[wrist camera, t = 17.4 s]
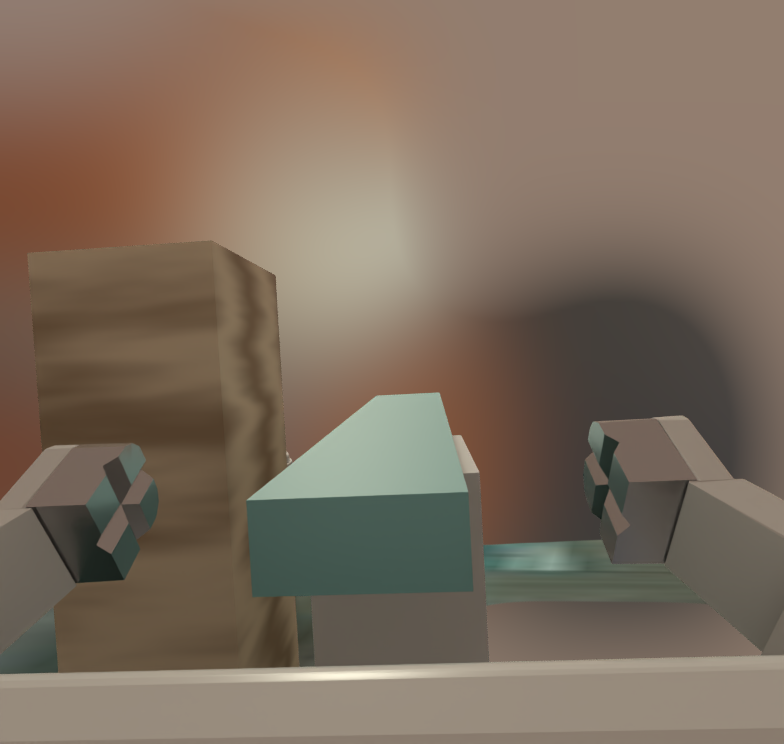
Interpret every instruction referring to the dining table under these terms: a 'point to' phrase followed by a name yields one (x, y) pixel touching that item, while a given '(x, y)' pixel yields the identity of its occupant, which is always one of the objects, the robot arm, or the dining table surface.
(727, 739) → the robot arm
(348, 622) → the grey slot box
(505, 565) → the dining table surface
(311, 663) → the dining table surface
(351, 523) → the teal board
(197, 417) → the birch stand
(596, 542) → the dining table surface
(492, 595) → the dining table surface
